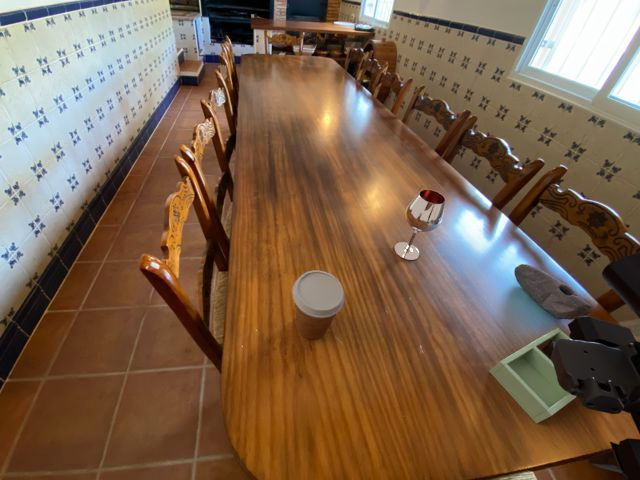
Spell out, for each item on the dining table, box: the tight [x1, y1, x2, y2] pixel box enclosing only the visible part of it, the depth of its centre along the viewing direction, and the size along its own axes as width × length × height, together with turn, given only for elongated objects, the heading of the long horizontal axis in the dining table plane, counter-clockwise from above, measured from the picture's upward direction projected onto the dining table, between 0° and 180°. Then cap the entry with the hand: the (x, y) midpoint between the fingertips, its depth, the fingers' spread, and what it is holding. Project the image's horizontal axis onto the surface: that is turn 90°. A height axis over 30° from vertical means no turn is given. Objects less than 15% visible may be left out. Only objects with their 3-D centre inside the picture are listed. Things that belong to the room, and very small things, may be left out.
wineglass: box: [393, 188, 447, 261], centre depth 72 cm, size 8×8×18 cm
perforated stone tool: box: [514, 263, 594, 321], centre depth 67 cm, size 15×5×7 cm, turn 18°
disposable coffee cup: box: [291, 269, 346, 340], centre depth 56 cm, size 10×10×12 cm
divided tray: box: [488, 327, 578, 424], centre depth 54 cm, size 9×17×4 cm, turn 114°
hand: (579, 421), depth 38 cm, fingers open, 9 cm apart
